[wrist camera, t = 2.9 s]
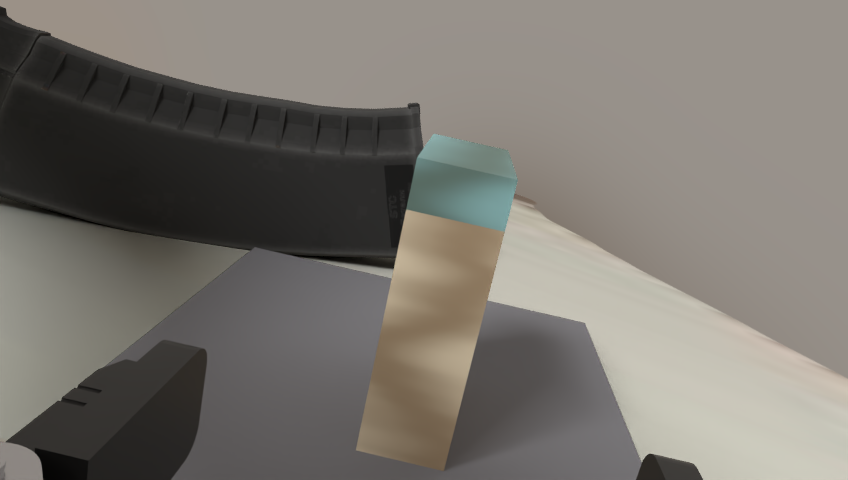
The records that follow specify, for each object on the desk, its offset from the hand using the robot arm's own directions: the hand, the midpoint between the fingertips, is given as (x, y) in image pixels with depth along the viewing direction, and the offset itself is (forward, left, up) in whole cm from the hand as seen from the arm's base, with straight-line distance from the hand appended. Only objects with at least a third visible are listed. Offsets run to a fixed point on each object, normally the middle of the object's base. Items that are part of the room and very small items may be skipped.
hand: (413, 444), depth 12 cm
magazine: (-16, +27, -7) cm, 32 cm away
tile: (0, +12, -6) cm, 14 cm away
